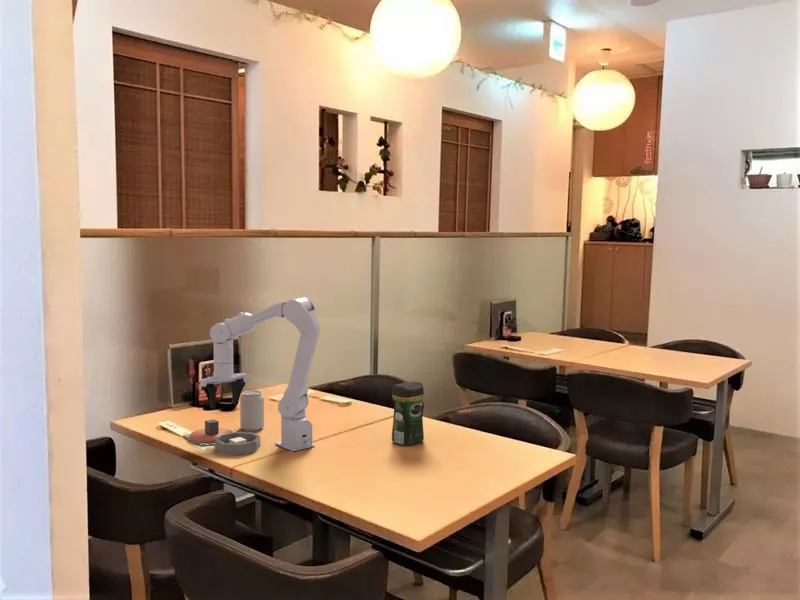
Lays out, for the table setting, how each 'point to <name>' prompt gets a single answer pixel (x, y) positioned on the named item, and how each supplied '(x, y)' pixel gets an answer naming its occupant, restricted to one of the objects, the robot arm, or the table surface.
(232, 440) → the bowl
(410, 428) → the coffee jar
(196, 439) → the lid
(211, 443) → the mat
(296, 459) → the table surface
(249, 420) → the can
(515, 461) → the table surface
